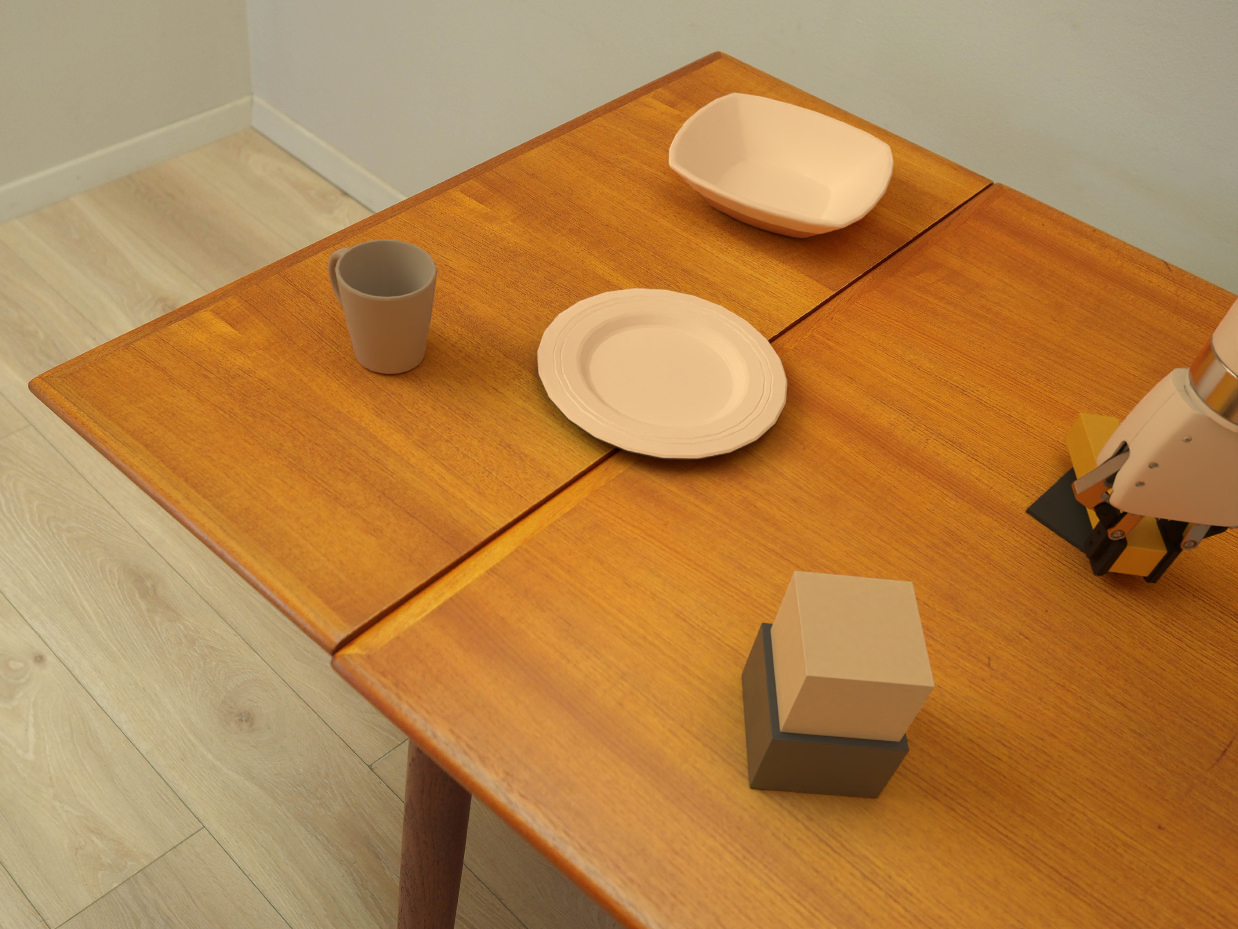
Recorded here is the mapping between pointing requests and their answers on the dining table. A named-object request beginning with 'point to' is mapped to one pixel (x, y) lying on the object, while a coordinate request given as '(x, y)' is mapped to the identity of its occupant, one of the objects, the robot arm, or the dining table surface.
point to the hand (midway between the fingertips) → (1119, 563)
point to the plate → (662, 374)
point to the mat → (1064, 512)
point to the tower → (835, 686)
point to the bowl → (781, 165)
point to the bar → (1084, 450)
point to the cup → (385, 301)
